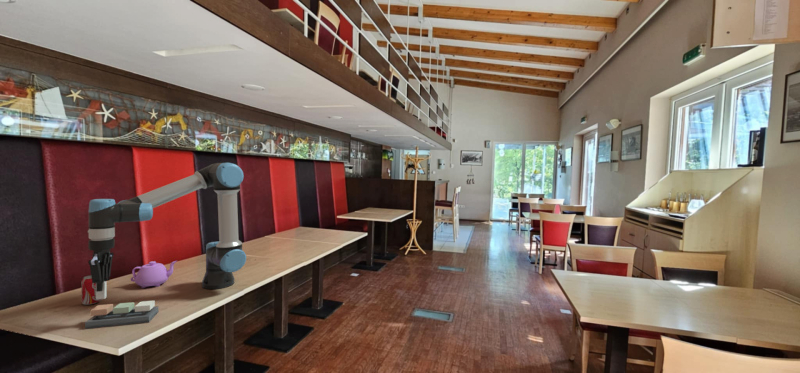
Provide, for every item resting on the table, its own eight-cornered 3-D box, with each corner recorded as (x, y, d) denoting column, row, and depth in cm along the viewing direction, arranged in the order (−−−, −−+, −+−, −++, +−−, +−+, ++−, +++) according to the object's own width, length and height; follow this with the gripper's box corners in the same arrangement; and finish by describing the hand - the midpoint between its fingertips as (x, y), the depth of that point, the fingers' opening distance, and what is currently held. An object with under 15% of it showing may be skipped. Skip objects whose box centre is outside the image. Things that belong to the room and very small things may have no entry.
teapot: (180, 278, 180) (180, 256, 179) (174, 286, 167) (174, 263, 167) (135, 282, 172) (135, 259, 171) (125, 291, 159) (125, 267, 158)
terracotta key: (113, 312, 130) (113, 303, 130) (106, 318, 126) (106, 308, 126) (97, 314, 129) (97, 305, 129) (90, 319, 124) (90, 310, 124)
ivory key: (154, 309, 135) (154, 300, 135) (149, 314, 130) (149, 305, 130) (140, 310, 133) (140, 301, 133) (134, 315, 129) (134, 306, 129)
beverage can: (88, 306, 141) (88, 279, 140) (77, 305, 142) (77, 278, 142) (104, 301, 147) (104, 275, 147) (93, 299, 148) (93, 273, 148)
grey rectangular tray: (158, 312, 138) (158, 306, 138) (148, 322, 128) (148, 316, 128) (99, 317, 131) (99, 311, 131) (85, 328, 122) (85, 322, 122)
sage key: (134, 311, 133) (134, 302, 133) (128, 316, 128) (128, 307, 128) (119, 312, 131) (119, 303, 131) (113, 317, 126) (113, 308, 126)
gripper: (99, 235, 131) (98, 293, 132) (79, 242, 119) (78, 305, 119) (121, 235, 133) (121, 291, 134) (104, 241, 121) (104, 303, 122)
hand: (101, 298), depth 127 cm, fingers closed
